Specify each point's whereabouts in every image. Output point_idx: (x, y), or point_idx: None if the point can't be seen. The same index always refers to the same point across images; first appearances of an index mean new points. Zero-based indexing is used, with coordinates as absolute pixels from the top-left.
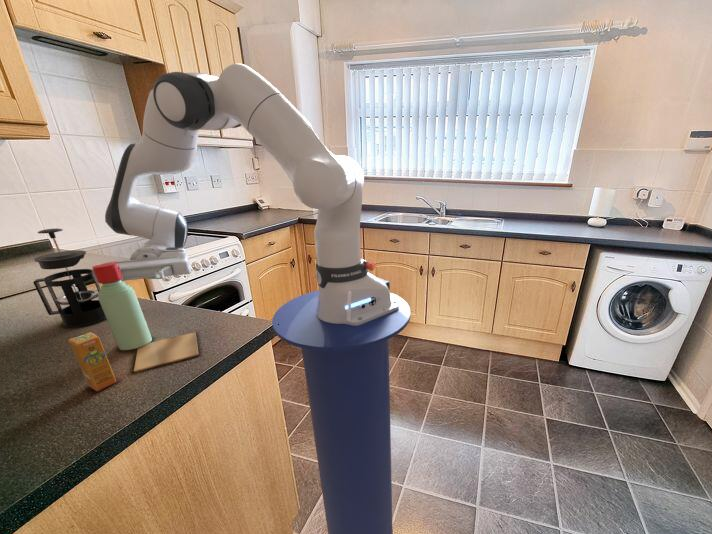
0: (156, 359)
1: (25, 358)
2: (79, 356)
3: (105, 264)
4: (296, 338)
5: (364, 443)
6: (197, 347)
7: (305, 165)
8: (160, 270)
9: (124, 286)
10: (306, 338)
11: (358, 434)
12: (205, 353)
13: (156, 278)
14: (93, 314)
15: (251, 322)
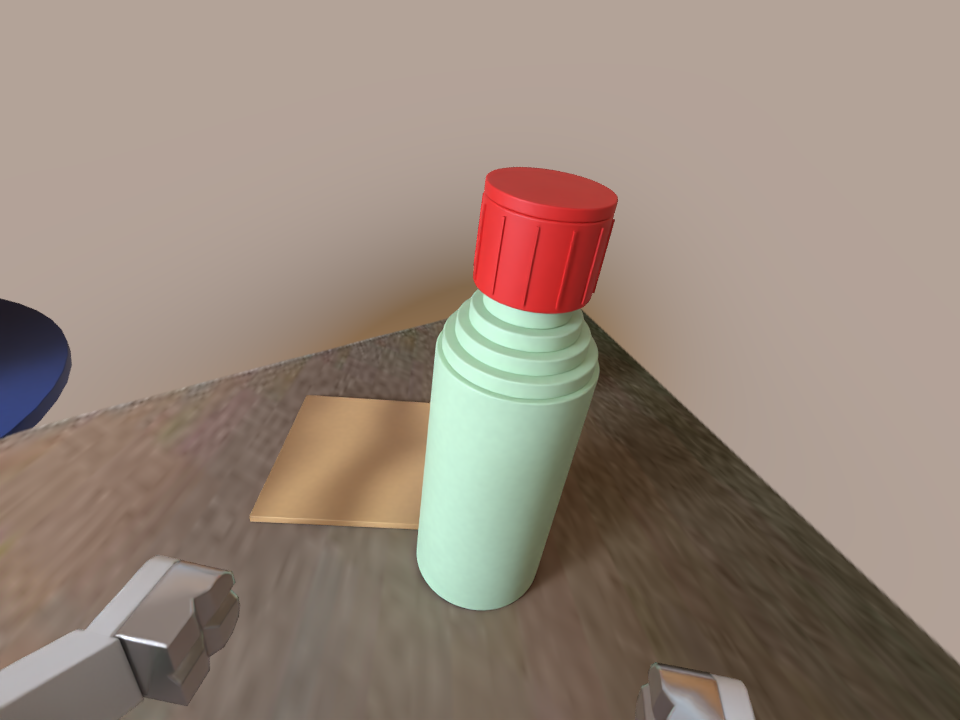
0: (412, 420)
1: (926, 687)
2: None
3: (553, 189)
4: (41, 363)
5: None
6: (294, 421)
7: None
8: (126, 622)
9: (469, 299)
10: (24, 353)
11: None
12: (287, 401)
13: (238, 606)
14: None
15: (11, 495)
